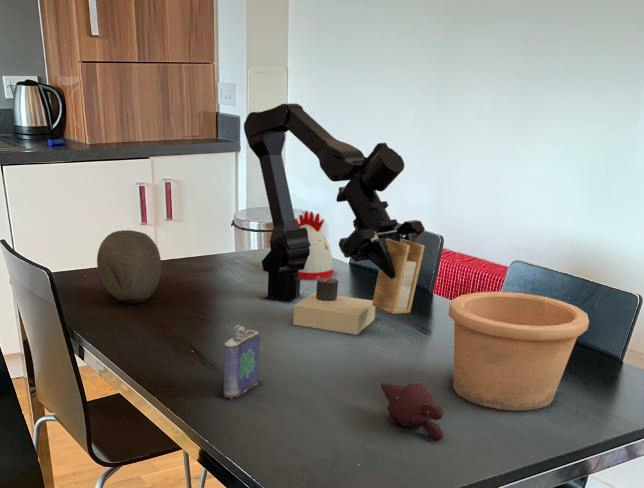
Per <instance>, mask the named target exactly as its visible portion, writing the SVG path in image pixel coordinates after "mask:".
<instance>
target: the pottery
mask: <svg viewBox="0 0 644 488" xmlns="http://www.w3.org/2000/svg"><path fill="white" fill-rule="evenodd" d="M448 307H449V309H448V316H449V317H450V318H451V319H452V321H453V322H454V327H453V328H454V331H453V332H454V333H453V334H454V337H453V338H454V339H453V340H454V341H453V385H452V388H453V390H454V391H455V392H456V394H457V395H458V396H459V397H461V398H463V399H465V400H466V401H467V402H469V403H472V404H475V405H478V406H481V407H484V408H490V409H494V410H499V411H511V412H525V411H536V410H539V409H542V408H546V407H547V406H549V405H550V404H551V403H552V402H554V398H555V396H556V393H557V390H558V387H559V385H560V382H561V380H562V377H563V375H564V372H565V370H566V368H567V364H568V362H569V360H570V357H571V355H572V352H573V349H574V346H575V344H576V342H577V339H578V337H580V336H581V335H583V334H584V333H585V332H586V331H587V330H588V329H589V325H590V319H589V316H588V313H587V312H585V311H584V310H582V309H581V308H579V307H578V306H576V305H573V304H570V303H568V302H565V301H562V300H561V299H556V298H552V297H551V298H550V297H547V296H542V295H537V294H530V293H522V292H513V291H478V292H477V291H476V292H472V293H466V294H461V295H459V296H457V297H455V298H453V299H451V301H450V304H449V306H448Z"/></svg>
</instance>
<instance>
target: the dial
mask: <svg viewBox="0 0 644 488" xmlns="http://www.w3.org/2000/svg"><path fill="white" fill-rule="evenodd" d="M338 287H339V280H338V279H337V278H334V277H328V278H319V279H316V291H315V292H316V298H317V299H319V300H323V301H333V300H336V299H337V295H338Z"/></svg>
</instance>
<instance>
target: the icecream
mask: <svg viewBox="0 0 644 488" xmlns="http://www.w3.org/2000/svg"><path fill="white" fill-rule="evenodd" d="M379 387H380V388H381V390H382V392H383V393H384V396H385V397H386V399H387V401H388V405H387V409H386V410H387V411H388V418H390V419H391V420H392V421H393V423H394V424H396V425H401V426H402V427H407V428H411V429H418V428H421V427H423V428H424V430H425V432H427V434H428V435H429V436H430V437H431V438H433V439H434V440H436V441H441V440H442V439H443V438H444V431H443V429H442V428H441V426H440V425H439V424H437V423H436V422H435V421H439V420H442V419H443V416H444V414H445V412H444V409H443V408H442V405H440V404H438V403H435V401H434V399H433V396H432V394H431V392H430V391H429V390H428V389H427V387H425V386H424V385H423V383H420V382H416V383H408V384H406V385H399V384H393V383H386V382H381V383H380V386H379ZM433 420H434V421H433Z"/></svg>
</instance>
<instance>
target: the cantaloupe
mask: <svg viewBox="0 0 644 488" xmlns="http://www.w3.org/2000/svg"><path fill="white" fill-rule="evenodd" d="M96 267H97V273H98V276H99V278H100V281H101V282H102V284H103V287H104V288H105V289H106V290H107V291H108V293H109V294H110V295H112V296H113V297H114V298H116V299H117V300H118V301H121V302H123V303H126V304H132V305H133V304H134V305H135V304H140V303H143V302H145V301H146V300H147V299H149V298H150V297H151V296H152V295H153V294H154V292H155V290H156V289H157V287H158V286H159V282H160V279H161V275H162V258H161V255H160V251H159V248H158V246H157V244H156V243H155V241H154V239H152V238H151V236H149V235H148V234H146V233H144V232H142V231H141V232H140V231H137V230H129V229H127V230H125V229H124V230H123V229H122V230H116V231H113V232H111V233H109V234H108V235H107V236H106V237H105V238H104V239H103V240H102V242H101V243H100V245H99V248H98V251H97V255H96Z"/></svg>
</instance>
